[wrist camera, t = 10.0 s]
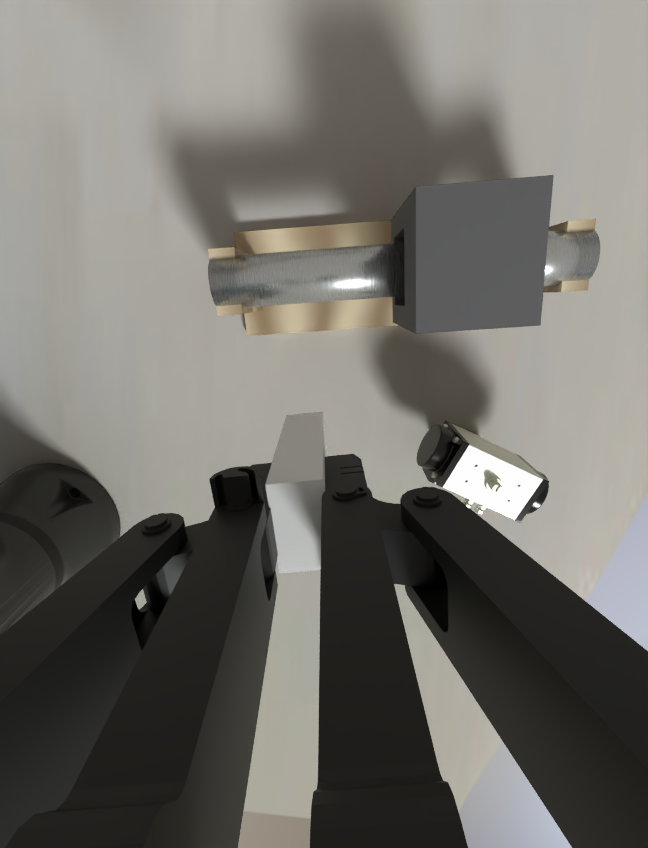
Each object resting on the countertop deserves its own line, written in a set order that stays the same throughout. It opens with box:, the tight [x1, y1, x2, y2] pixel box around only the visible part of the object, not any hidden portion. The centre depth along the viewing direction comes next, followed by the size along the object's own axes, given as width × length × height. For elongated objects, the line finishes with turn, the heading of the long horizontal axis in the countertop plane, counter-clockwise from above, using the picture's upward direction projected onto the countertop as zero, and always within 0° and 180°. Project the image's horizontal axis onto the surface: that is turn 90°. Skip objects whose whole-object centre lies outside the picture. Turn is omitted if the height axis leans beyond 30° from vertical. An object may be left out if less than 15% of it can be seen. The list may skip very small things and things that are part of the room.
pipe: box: [208, 230, 600, 308], centre depth 33 cm, size 29×4×4 cm, turn 94°
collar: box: [391, 175, 553, 334], centre depth 31 cm, size 8×9×12 cm
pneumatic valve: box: [417, 421, 549, 522], centre depth 42 cm, size 6×12×12 cm, turn 65°
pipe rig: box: [208, 219, 596, 336], centre depth 37 cm, size 29×10×11 cm, turn 94°
